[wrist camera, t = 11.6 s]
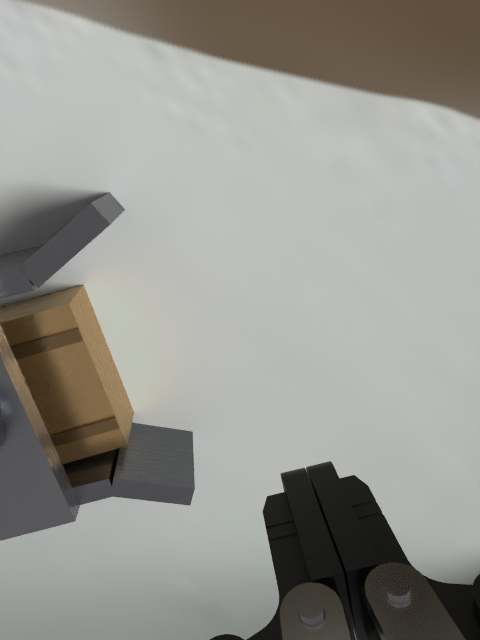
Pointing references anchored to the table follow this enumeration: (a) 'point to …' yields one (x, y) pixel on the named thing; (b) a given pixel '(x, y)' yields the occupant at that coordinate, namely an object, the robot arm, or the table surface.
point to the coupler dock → (33, 438)
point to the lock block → (69, 372)
